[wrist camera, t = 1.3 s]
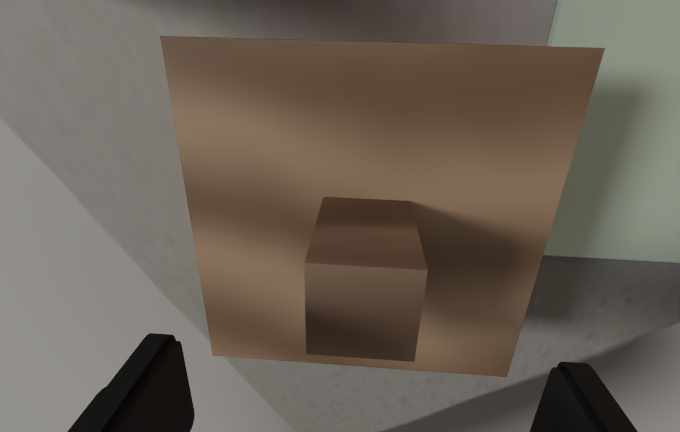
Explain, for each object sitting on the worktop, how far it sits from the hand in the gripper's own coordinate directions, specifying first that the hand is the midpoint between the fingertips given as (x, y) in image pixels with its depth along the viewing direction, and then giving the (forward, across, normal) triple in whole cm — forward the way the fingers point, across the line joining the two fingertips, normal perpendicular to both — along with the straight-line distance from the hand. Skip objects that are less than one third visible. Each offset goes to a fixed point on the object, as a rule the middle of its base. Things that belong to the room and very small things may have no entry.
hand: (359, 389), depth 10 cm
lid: (+9, 0, -1) cm, 9 cm away
